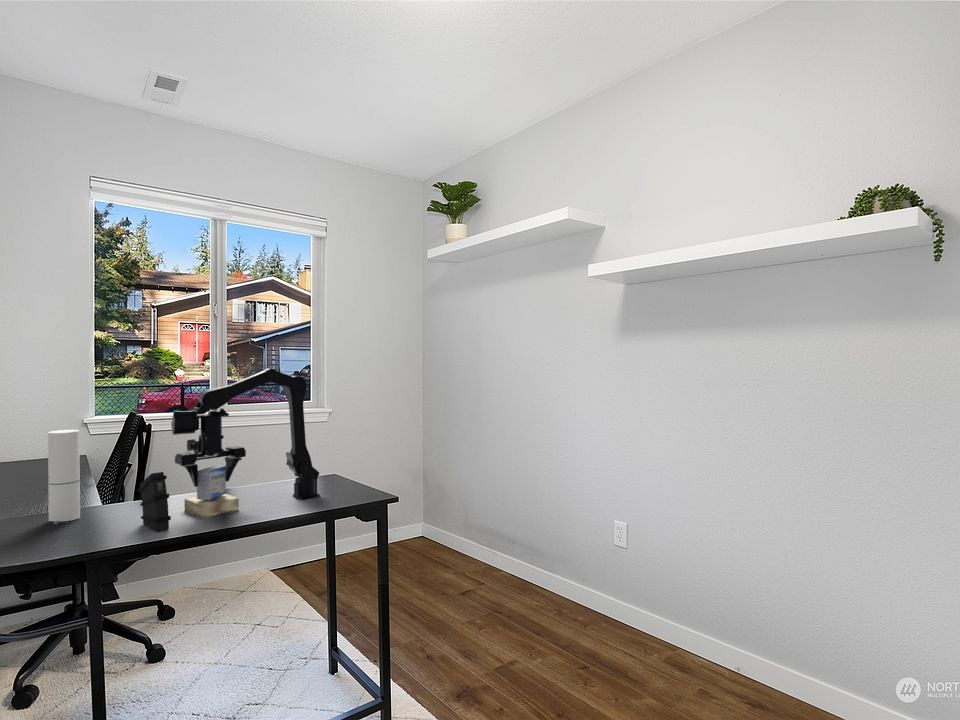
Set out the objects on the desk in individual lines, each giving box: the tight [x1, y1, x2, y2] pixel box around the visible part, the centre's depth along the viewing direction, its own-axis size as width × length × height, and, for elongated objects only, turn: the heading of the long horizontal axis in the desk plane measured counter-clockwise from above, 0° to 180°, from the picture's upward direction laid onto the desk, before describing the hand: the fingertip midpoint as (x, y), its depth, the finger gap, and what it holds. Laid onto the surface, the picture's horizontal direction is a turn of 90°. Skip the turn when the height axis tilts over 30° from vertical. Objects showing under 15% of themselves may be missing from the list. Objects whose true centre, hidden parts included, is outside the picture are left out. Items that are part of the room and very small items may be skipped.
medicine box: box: [196, 465, 227, 500], centre depth 170 cm, size 8×4×9 cm, turn 171°
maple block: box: [184, 493, 240, 519], centre depth 170 cm, size 11×11×4 cm
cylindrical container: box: [47, 429, 81, 522], centre depth 161 cm, size 7×7×25 cm
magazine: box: [137, 471, 172, 533], centre depth 155 cm, size 4×13×15 cm, turn 48°
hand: (211, 483), depth 170 cm, fingers open, 9 cm apart
